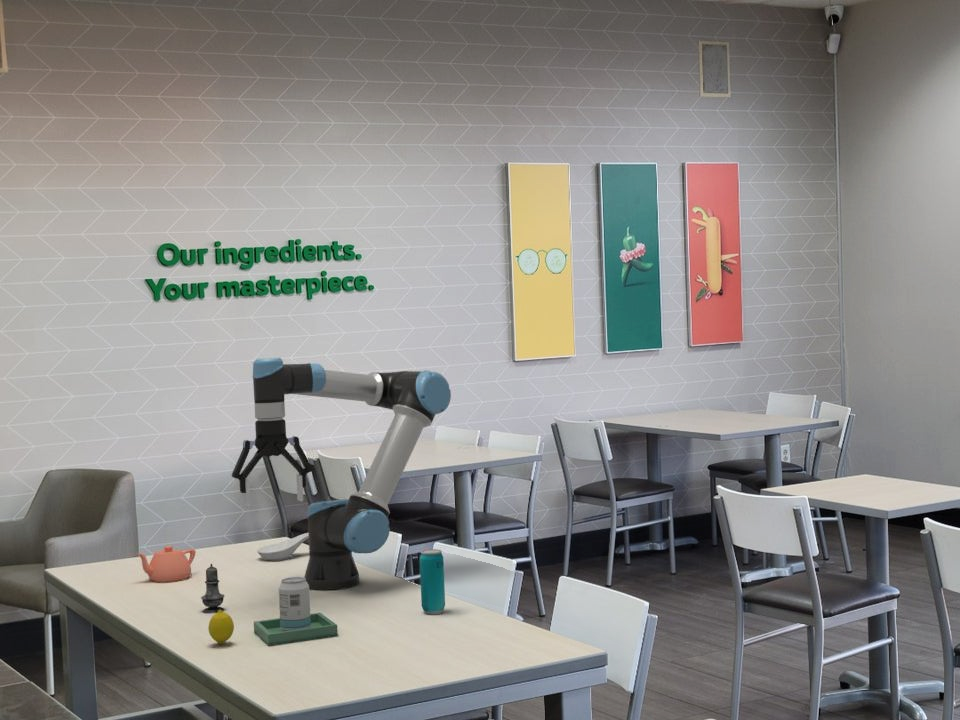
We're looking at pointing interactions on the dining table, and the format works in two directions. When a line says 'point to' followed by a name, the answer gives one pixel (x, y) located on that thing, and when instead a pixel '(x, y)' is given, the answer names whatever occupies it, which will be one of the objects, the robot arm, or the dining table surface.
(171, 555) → the teapot
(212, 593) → the salt shaker
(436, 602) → the beverage can
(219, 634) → the fruit
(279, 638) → the tray
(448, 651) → the dining table surface
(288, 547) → the spoon rest
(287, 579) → the beverage can
